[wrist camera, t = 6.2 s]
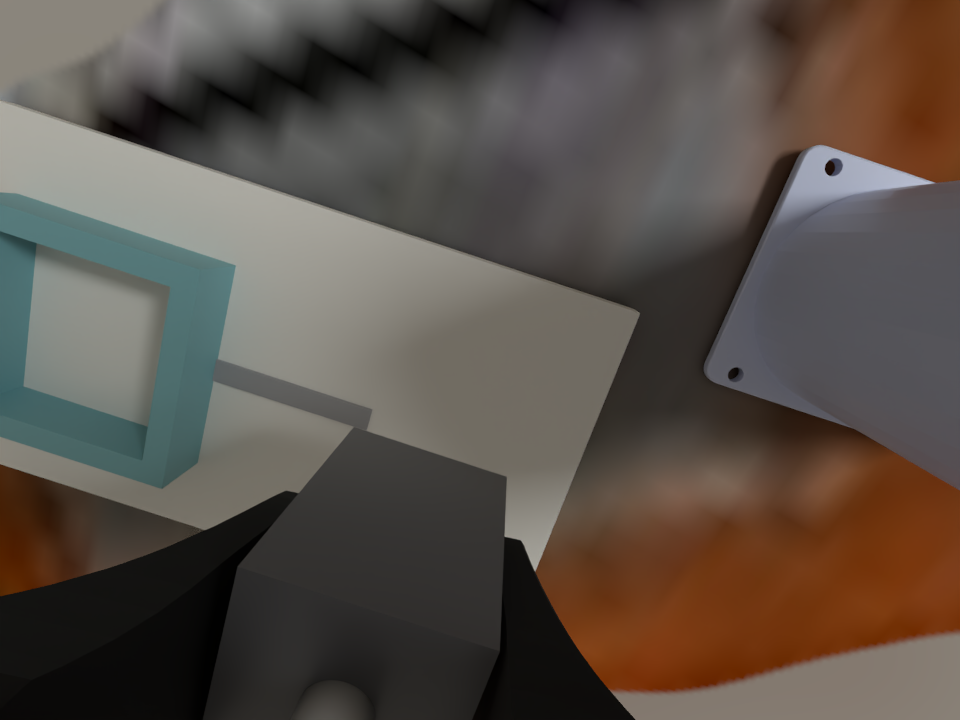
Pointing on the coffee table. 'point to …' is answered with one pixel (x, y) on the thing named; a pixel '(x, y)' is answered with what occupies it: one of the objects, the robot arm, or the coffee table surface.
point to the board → (267, 338)
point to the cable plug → (369, 593)
